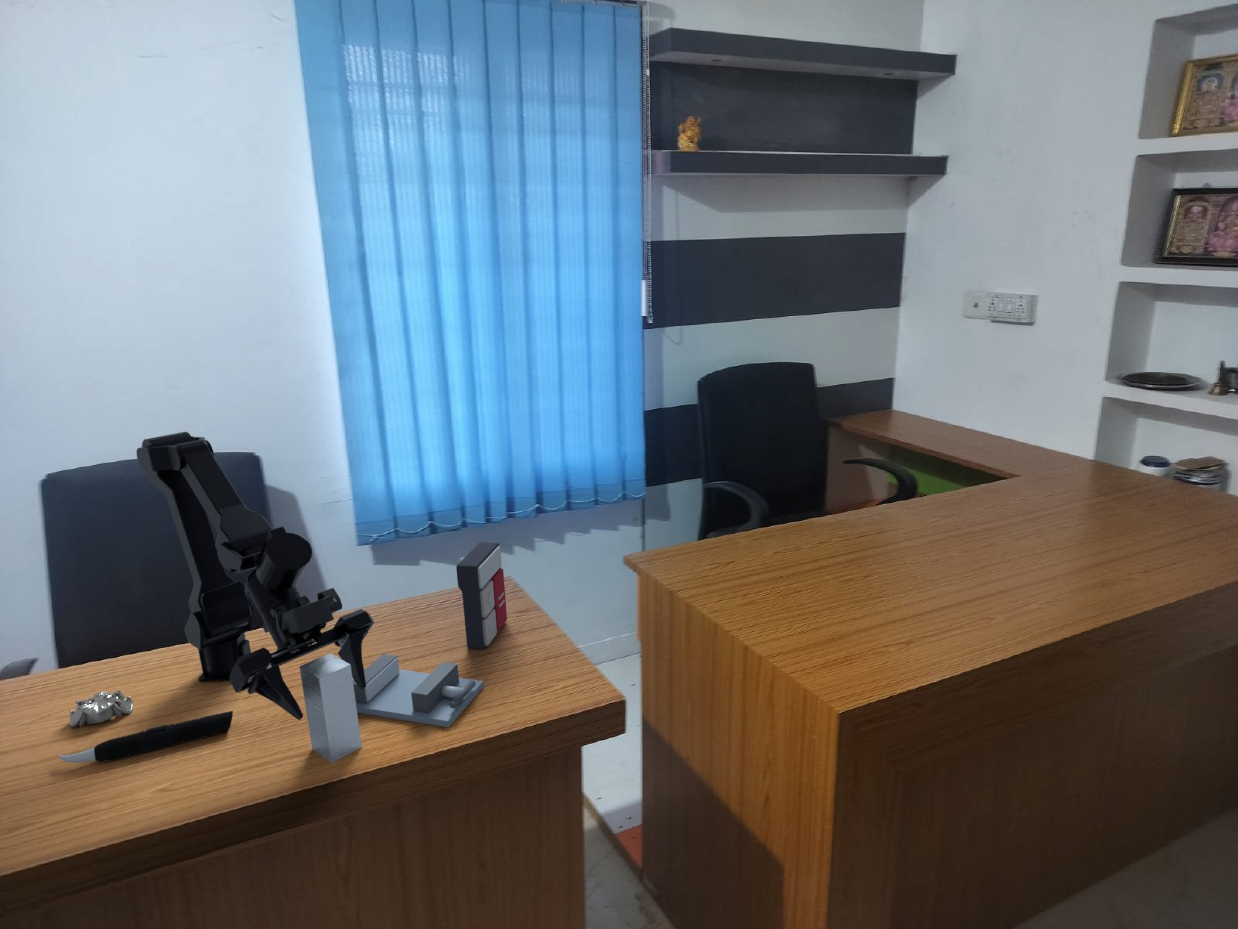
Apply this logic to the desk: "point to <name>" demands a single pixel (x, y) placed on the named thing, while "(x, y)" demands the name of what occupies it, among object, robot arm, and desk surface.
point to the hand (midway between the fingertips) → (333, 703)
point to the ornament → (100, 708)
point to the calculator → (482, 594)
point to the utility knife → (154, 738)
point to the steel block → (331, 707)
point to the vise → (414, 692)
